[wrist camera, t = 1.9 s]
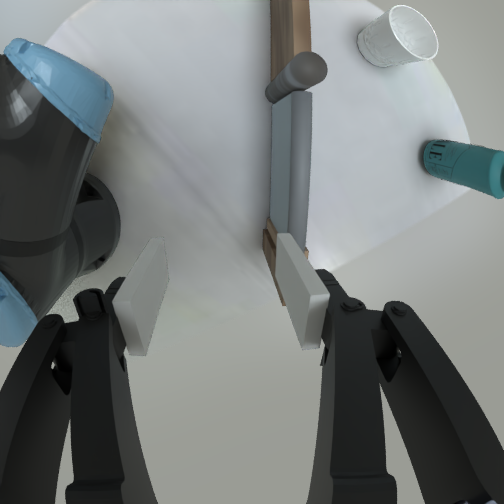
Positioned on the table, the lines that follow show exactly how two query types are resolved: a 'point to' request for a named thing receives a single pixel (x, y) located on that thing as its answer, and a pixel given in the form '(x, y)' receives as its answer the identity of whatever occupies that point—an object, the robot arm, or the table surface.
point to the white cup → (398, 38)
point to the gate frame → (290, 72)
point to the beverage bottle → (466, 165)
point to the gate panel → (280, 163)
